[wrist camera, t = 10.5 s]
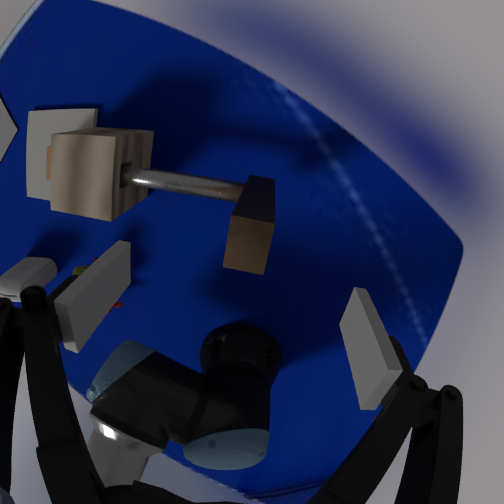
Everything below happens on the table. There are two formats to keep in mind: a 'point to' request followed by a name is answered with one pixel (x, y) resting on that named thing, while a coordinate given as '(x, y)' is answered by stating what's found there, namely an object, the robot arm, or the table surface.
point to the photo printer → (26, 276)
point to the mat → (40, 138)
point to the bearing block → (97, 170)
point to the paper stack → (5, 129)
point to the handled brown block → (245, 195)
